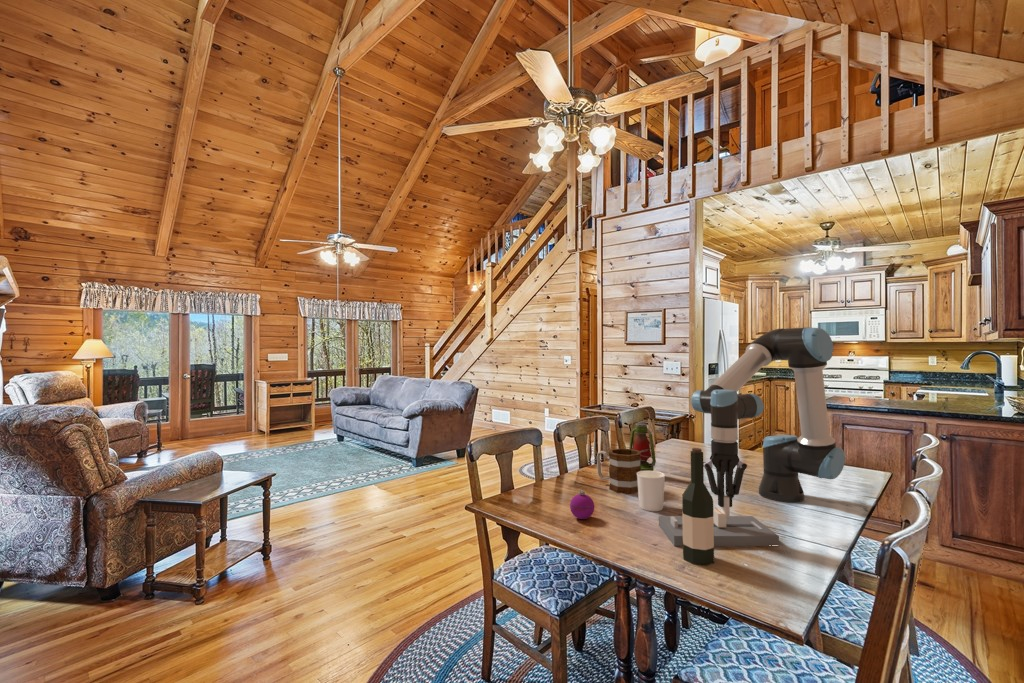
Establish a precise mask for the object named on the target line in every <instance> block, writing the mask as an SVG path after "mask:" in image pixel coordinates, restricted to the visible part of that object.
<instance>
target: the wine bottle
mask: <svg viewBox="0 0 1024 683" xmlns="http://www.w3.org/2000/svg"><path fill="white" fill-rule="evenodd" d="M703 462H704V452H703V451H702V448H699V447H693V448H692V449H691V451H690V482H689V484H688V485H687V487H686V488H685V490H683V493H682V496H681V497H682V498H681V499H682V500H681V501H682V516H683V546H682V556H683V557H682V558H683V560H684V561H686V562H688V563H689V564H692V565H696V566H703V567H706V566H709V565H713V564H715V546H714V519H713V508H714V500H713V499H714V498H713V496H712V494H711V493H710V492H709V490H708V487H707V486H706V485H705V482H704V481H705V480H704V474H705V473H704V466H703Z"/></svg>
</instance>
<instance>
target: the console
mask: <svg viewBox="0 0 1024 683" xmlns="http://www.w3.org/2000/svg"><path fill="white" fill-rule="evenodd" d="M658 527H659V528H660V529H661V530H662V532H663V533H664V535H666V537H667V538H668V540H669V541H670V543H671V544H672V546H674V547H683V515H659V516H658ZM769 545H771V546H772V545H779V546H780V535H778V534H776V533H775V532H774V531H773V530H772V529H770V528H769V527H768V526H766V525H765V524H764V523H762V522H761V521H760V520H758V519H757V518H755V517H754V516H752V515H744V516H743V515H737V516H736V515H730V519H726V527H717V526H716V525H715V524H714V547H756V546H769Z"/></svg>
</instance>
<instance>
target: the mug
mask: <svg viewBox="0 0 1024 683" xmlns="http://www.w3.org/2000/svg"><path fill="white" fill-rule="evenodd" d="M601 454H602V455H604V457H605V458H606V459H607V460H609V463H608V464H609V465H608V474H609V475H608V476H604V475H603V473H602V466H601V465H602V463H601ZM640 456H641V451H637V450H634V449H629V448H620V447H619V448H614V449H609V450H608V453H607V452H606V451H605V450H600V451H598V452H597V455H596V462H597V465H596V466H597V470H596V471H597V474H598V477H599V478H600V479H601V480H609V487H608V490H609V491H612V492H614V493H617V494H627V495H633V494H638V483H637V472H639V471H641V464H640Z"/></svg>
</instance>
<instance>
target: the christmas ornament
mask: <svg viewBox="0 0 1024 683" xmlns="http://www.w3.org/2000/svg"><path fill="white" fill-rule="evenodd" d="M569 509H570V512H571V514H572V515H573V516H574V517H575V518H576V519H579V520H588V519H589V518H591V516H592V515H593V514H594V511H595V503H594V500H593V499H592V498H591V497H590V496H589V495H588V494H586V492H585V490H584V489H583V488H581V489H580V490H579V492H578V494H575V495H574V496H573V497H572V499H571V500H570V503H569Z"/></svg>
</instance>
